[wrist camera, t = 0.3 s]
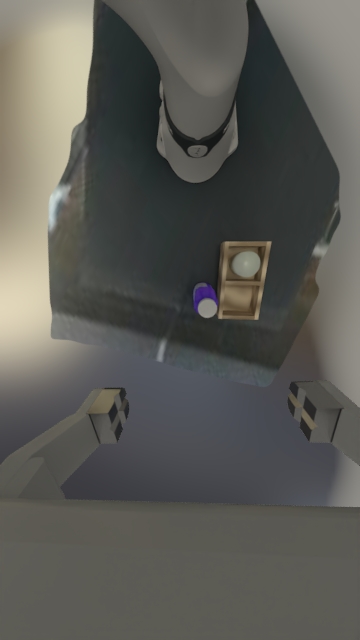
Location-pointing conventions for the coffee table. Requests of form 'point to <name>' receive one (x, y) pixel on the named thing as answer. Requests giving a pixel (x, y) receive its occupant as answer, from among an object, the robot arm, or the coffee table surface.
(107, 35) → the coffee table surface
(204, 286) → the bottle
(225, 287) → the rack
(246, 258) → the pale green egg
